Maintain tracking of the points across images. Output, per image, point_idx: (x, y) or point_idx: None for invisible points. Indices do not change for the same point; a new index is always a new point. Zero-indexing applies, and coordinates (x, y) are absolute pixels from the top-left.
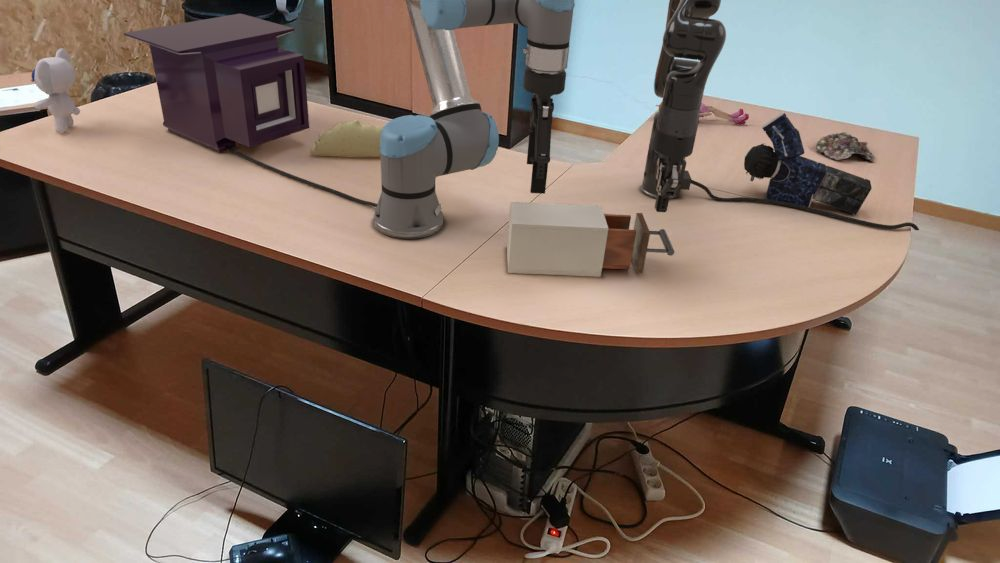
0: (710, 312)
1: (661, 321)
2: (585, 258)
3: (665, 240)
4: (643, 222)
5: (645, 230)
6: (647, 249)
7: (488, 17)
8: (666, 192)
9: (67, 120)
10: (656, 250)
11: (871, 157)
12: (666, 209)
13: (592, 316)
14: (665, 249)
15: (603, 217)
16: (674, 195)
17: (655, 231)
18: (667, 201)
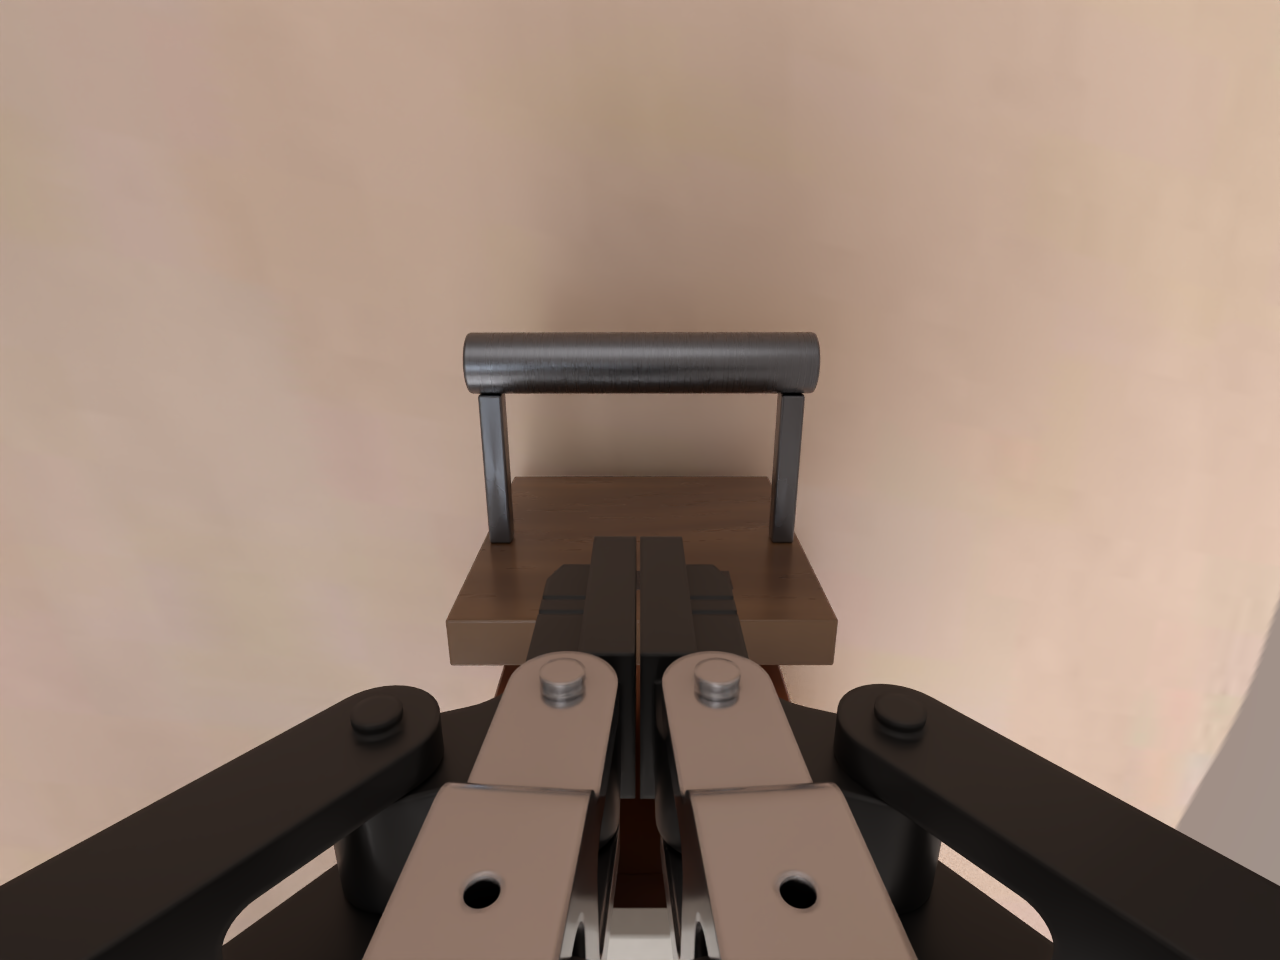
0: (1180, 119)
1: (1208, 444)
2: None
3: (664, 384)
4: (639, 641)
5: (795, 651)
6: (791, 538)
7: None
8: (933, 871)
9: None
10: (797, 474)
11: None
12: (681, 549)
13: (1104, 741)
14: (787, 404)
15: (658, 947)
16: (973, 722)
17: (490, 424)
18: (740, 640)
